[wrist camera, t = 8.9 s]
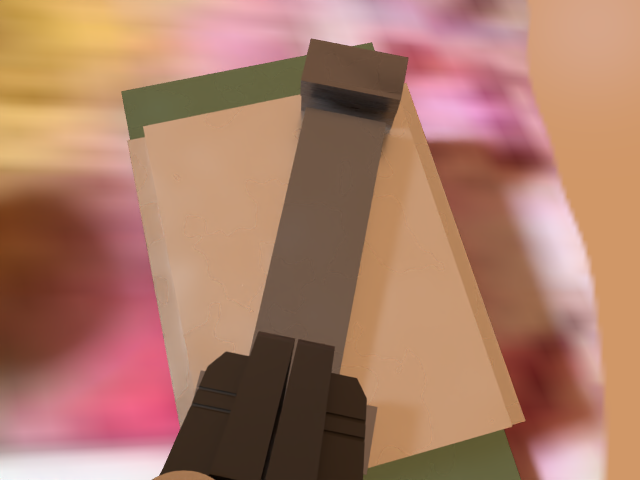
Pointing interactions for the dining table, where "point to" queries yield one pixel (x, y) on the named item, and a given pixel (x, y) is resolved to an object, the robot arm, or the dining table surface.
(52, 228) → the dining table surface
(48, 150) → the dining table surface
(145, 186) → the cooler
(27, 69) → the dining table surface
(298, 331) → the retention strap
